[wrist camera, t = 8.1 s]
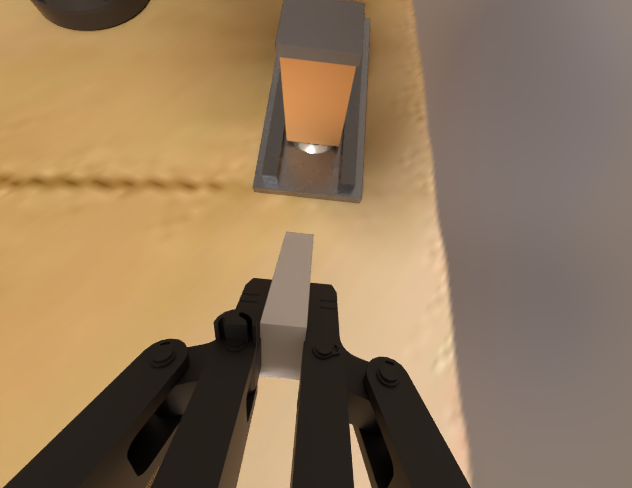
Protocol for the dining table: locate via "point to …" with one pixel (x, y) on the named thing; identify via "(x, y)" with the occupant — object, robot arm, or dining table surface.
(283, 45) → the orange tall block
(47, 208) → the dining table surface
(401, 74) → the dining table surface
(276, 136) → the gray canister tray
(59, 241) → the dining table surface
